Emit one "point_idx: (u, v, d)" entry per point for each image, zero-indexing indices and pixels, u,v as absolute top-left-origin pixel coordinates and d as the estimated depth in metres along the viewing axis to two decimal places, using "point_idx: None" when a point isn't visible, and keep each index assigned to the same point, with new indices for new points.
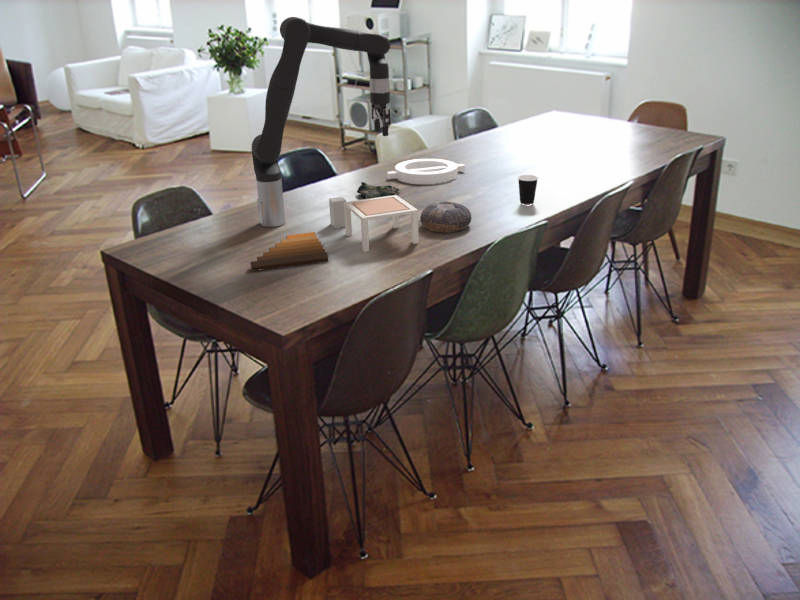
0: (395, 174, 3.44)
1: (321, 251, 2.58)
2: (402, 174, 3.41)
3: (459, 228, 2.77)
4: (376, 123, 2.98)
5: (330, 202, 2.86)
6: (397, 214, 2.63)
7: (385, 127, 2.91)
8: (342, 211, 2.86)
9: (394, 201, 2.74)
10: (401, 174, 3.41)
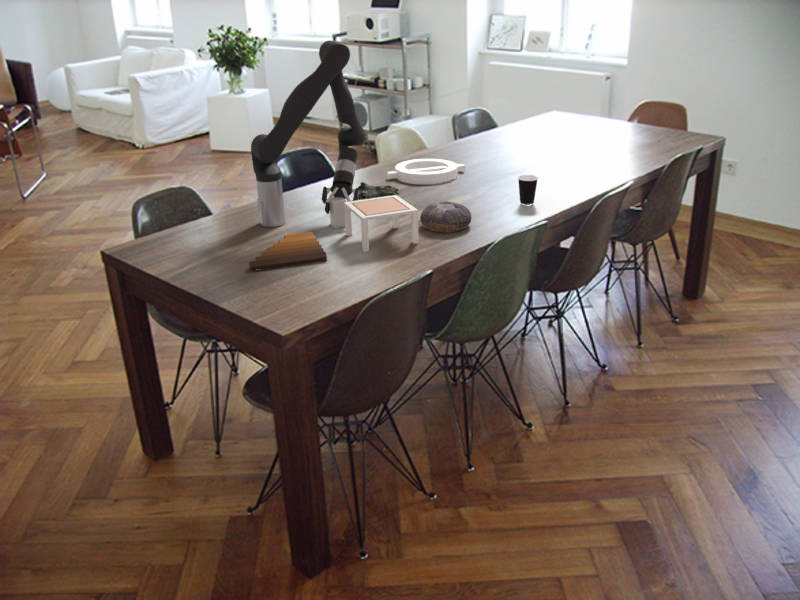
0: (395, 174, 3.44)
1: (319, 251, 2.59)
2: (402, 174, 3.41)
3: (459, 228, 2.77)
4: None
5: (330, 202, 2.86)
6: (397, 214, 2.63)
7: None
8: (342, 211, 2.86)
9: (394, 201, 2.74)
10: (402, 174, 3.41)
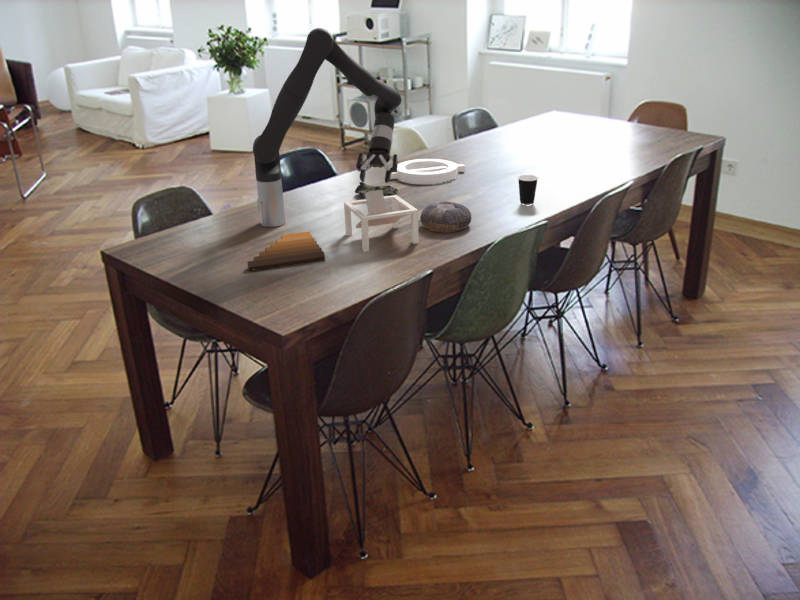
0: (395, 174, 3.44)
1: (317, 250, 2.59)
2: (402, 174, 3.41)
3: (459, 228, 2.77)
4: (364, 172, 2.70)
5: (366, 196, 2.75)
6: (397, 214, 2.63)
7: (390, 172, 2.69)
8: (380, 201, 2.73)
9: None
10: (402, 175, 3.41)
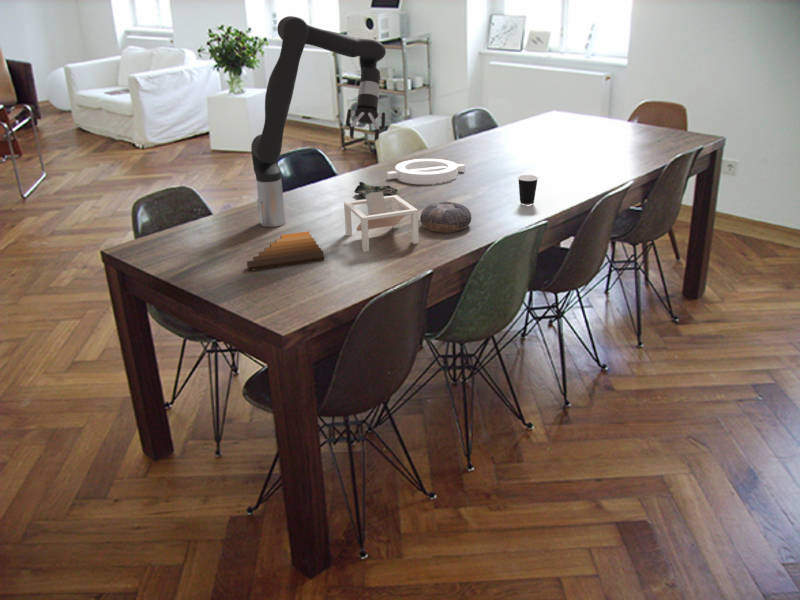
0: (395, 174, 3.44)
1: (317, 250, 2.59)
2: (402, 174, 3.41)
3: (459, 228, 2.77)
4: (353, 129, 2.83)
5: (367, 198, 2.75)
6: (397, 214, 2.63)
7: (379, 131, 2.83)
8: (380, 203, 2.73)
9: None
10: (402, 174, 3.41)
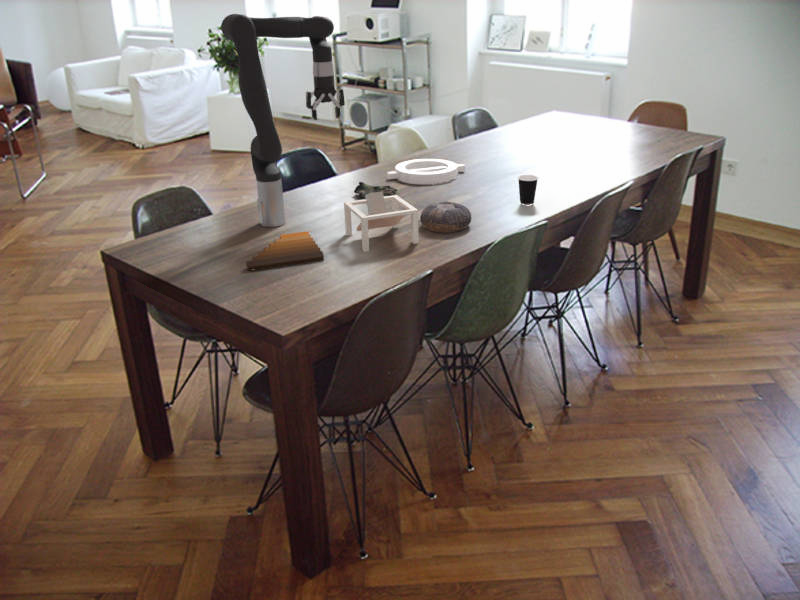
0: (395, 174, 3.44)
1: (316, 250, 2.59)
2: (402, 174, 3.41)
3: (459, 228, 2.77)
4: None
5: (367, 198, 2.75)
6: (397, 214, 2.63)
7: None
8: (380, 203, 2.73)
9: None
10: (402, 174, 3.41)
